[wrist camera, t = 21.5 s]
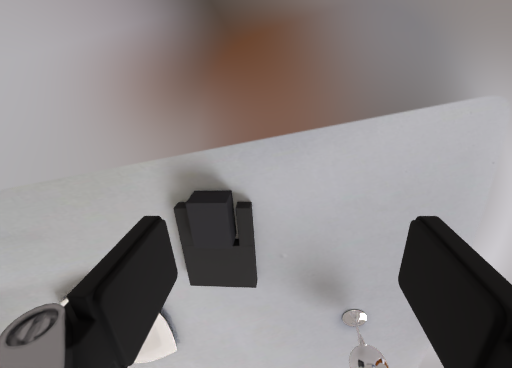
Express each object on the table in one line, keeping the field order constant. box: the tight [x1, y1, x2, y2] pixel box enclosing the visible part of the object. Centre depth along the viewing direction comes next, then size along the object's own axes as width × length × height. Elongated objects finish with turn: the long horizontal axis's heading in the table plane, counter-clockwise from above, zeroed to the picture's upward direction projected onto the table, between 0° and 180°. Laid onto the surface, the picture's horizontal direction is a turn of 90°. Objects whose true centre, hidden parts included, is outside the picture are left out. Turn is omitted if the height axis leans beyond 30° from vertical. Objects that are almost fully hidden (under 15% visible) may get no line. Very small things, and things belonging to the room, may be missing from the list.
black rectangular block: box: [186, 191, 236, 249], centre depth 39 cm, size 8×6×4 cm
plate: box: [59, 298, 177, 363], centre depth 53 cm, size 23×23×2 cm
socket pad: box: [174, 202, 257, 288], centre depth 42 cm, size 16×12×2 cm
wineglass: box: [342, 310, 389, 368], centre depth 42 cm, size 6×6×12 cm
